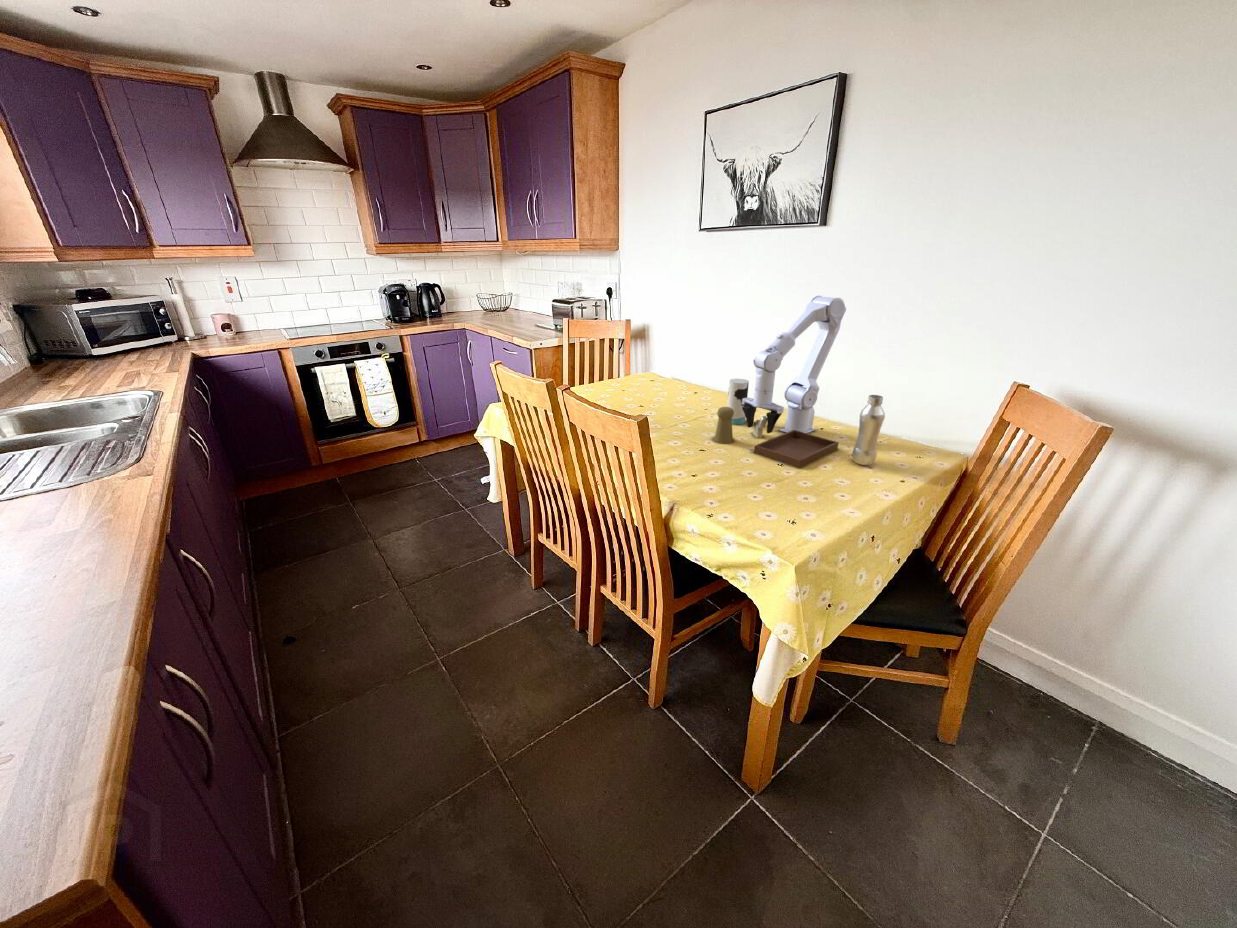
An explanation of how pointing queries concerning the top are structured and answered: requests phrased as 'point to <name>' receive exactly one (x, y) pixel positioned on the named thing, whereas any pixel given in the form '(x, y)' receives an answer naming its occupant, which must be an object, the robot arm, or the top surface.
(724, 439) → the pawn
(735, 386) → the cup
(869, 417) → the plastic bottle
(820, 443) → the tray
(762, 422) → the lighter
